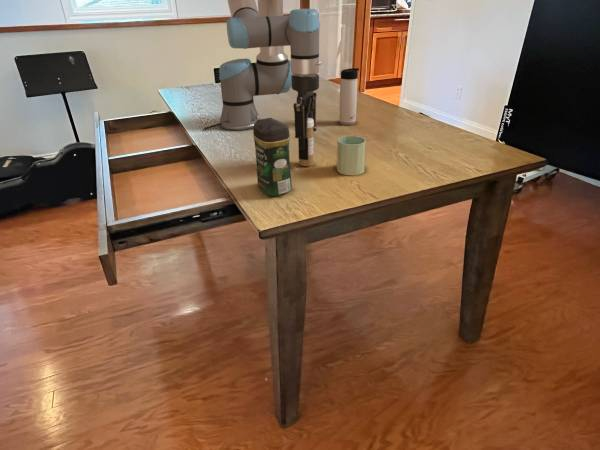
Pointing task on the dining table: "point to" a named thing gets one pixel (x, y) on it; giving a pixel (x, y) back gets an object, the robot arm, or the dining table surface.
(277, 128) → the coffee jar
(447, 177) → the dining table surface
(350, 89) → the travel mug
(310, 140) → the sprinkles bottle
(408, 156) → the dining table surface
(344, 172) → the cup
